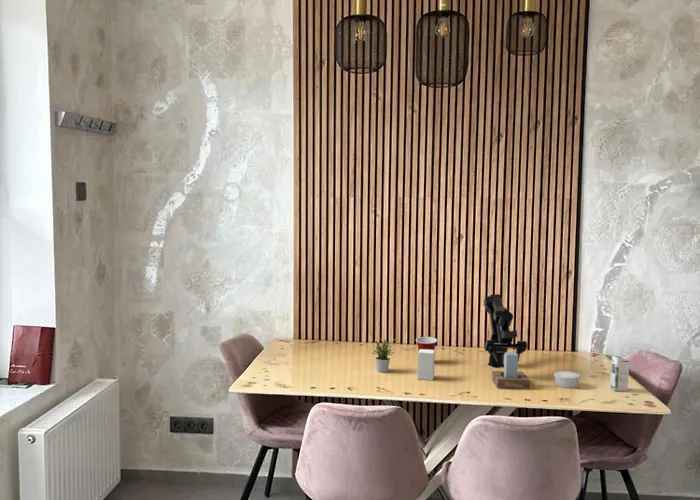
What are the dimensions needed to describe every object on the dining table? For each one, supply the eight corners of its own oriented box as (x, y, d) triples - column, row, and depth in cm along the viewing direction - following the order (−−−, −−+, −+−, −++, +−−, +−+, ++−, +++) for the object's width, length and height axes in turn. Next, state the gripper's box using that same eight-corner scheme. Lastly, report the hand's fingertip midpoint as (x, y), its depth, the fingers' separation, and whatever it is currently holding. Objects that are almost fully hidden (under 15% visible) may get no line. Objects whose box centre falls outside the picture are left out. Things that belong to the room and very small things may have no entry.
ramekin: (566, 390, 296) (567, 378, 295) (548, 383, 305) (548, 372, 305) (585, 387, 301) (585, 375, 300) (566, 381, 311) (566, 369, 310)
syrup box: (609, 387, 300) (610, 355, 299) (621, 387, 301) (623, 355, 300) (615, 391, 295) (617, 359, 293) (628, 391, 295) (630, 359, 294)
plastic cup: (412, 363, 336) (413, 340, 335) (418, 358, 346) (419, 335, 345) (433, 366, 332) (434, 342, 331) (439, 361, 342) (439, 338, 341)
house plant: (404, 369, 324) (405, 336, 323) (393, 376, 312) (394, 341, 310) (377, 366, 330) (377, 333, 329) (365, 372, 318) (366, 338, 316)
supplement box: (433, 380, 306) (433, 353, 305) (416, 379, 308) (417, 352, 307) (434, 376, 314) (435, 349, 313) (418, 375, 315) (419, 348, 314)
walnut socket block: (491, 379, 310) (492, 371, 310) (522, 380, 310) (522, 371, 309) (497, 388, 296) (498, 379, 296) (529, 389, 296) (530, 380, 295)
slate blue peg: (503, 380, 305) (504, 352, 304) (514, 380, 305) (515, 352, 304) (505, 383, 300) (506, 354, 299) (517, 384, 300) (518, 355, 299)
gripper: (486, 323, 313) (490, 352, 303) (527, 324, 313) (531, 353, 303) (483, 336, 322) (486, 364, 312) (522, 337, 321) (526, 365, 311)
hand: (507, 361), depth 309 cm, fingers open, 9 cm apart
